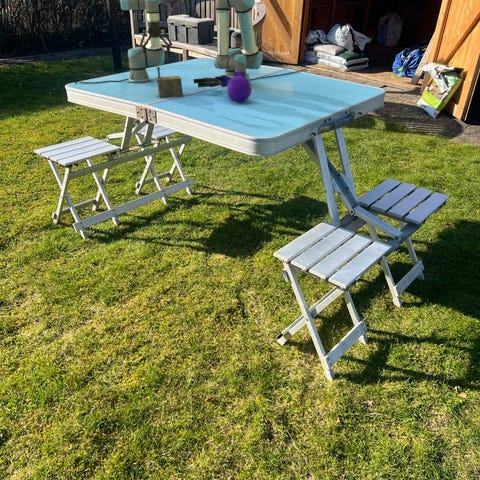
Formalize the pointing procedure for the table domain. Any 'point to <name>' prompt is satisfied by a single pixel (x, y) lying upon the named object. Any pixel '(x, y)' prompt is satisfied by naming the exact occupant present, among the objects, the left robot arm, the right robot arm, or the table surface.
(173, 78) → the lid
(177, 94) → the chest
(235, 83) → the toy
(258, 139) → the table surface
